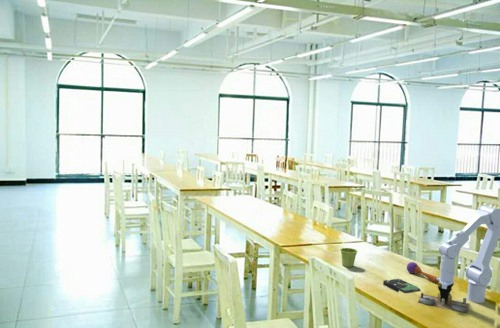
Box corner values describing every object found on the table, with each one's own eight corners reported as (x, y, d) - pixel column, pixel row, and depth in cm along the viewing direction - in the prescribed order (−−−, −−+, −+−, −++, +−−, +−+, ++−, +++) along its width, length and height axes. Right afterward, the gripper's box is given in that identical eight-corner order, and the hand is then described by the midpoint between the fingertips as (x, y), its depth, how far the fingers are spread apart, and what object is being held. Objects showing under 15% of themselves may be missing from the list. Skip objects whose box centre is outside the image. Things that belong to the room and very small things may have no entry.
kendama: (432, 276, 234) (404, 262, 252) (432, 287, 235) (404, 272, 253) (441, 273, 236) (412, 259, 254) (441, 284, 237) (413, 269, 255)
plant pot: (356, 269, 253) (357, 253, 252) (339, 267, 255) (340, 251, 254) (356, 264, 262) (357, 248, 261) (339, 262, 264) (340, 247, 263)
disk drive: (382, 286, 230) (404, 296, 216) (382, 280, 230) (404, 290, 216) (398, 283, 234) (420, 293, 221) (399, 278, 234) (421, 288, 221)
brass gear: (438, 297, 212) (439, 291, 212) (452, 300, 210) (452, 293, 209) (437, 301, 207) (437, 294, 207) (450, 304, 205) (451, 297, 204)
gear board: (422, 296, 216) (422, 286, 216) (469, 306, 207) (470, 296, 206) (417, 305, 205) (418, 295, 204) (467, 316, 195) (468, 305, 195)
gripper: (439, 264, 215) (437, 293, 217) (435, 272, 203) (432, 303, 204) (456, 267, 212) (453, 296, 213) (453, 276, 199) (450, 306, 201)
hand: (444, 299), depth 208 cm, fingers closed on brass gear, 6 cm apart
